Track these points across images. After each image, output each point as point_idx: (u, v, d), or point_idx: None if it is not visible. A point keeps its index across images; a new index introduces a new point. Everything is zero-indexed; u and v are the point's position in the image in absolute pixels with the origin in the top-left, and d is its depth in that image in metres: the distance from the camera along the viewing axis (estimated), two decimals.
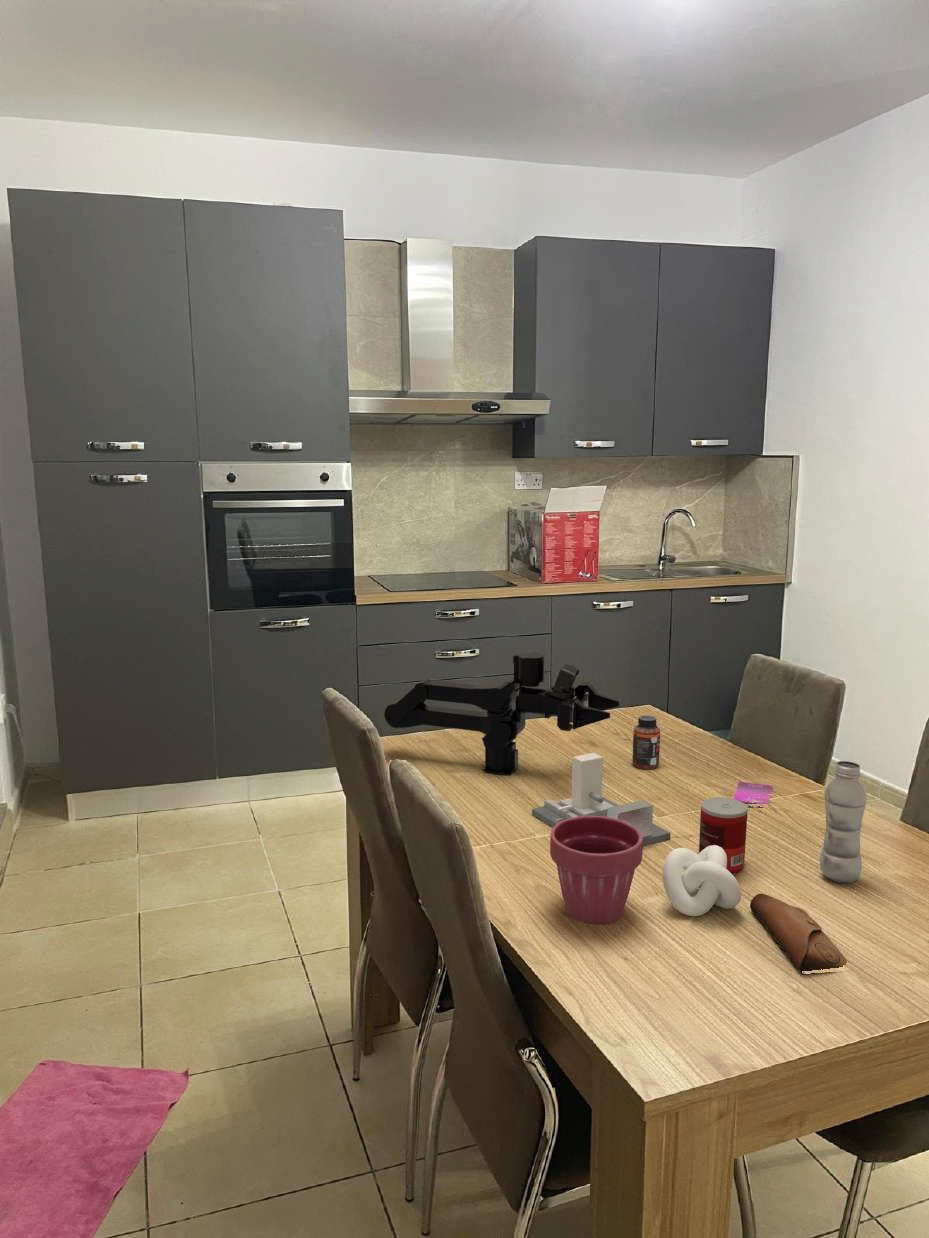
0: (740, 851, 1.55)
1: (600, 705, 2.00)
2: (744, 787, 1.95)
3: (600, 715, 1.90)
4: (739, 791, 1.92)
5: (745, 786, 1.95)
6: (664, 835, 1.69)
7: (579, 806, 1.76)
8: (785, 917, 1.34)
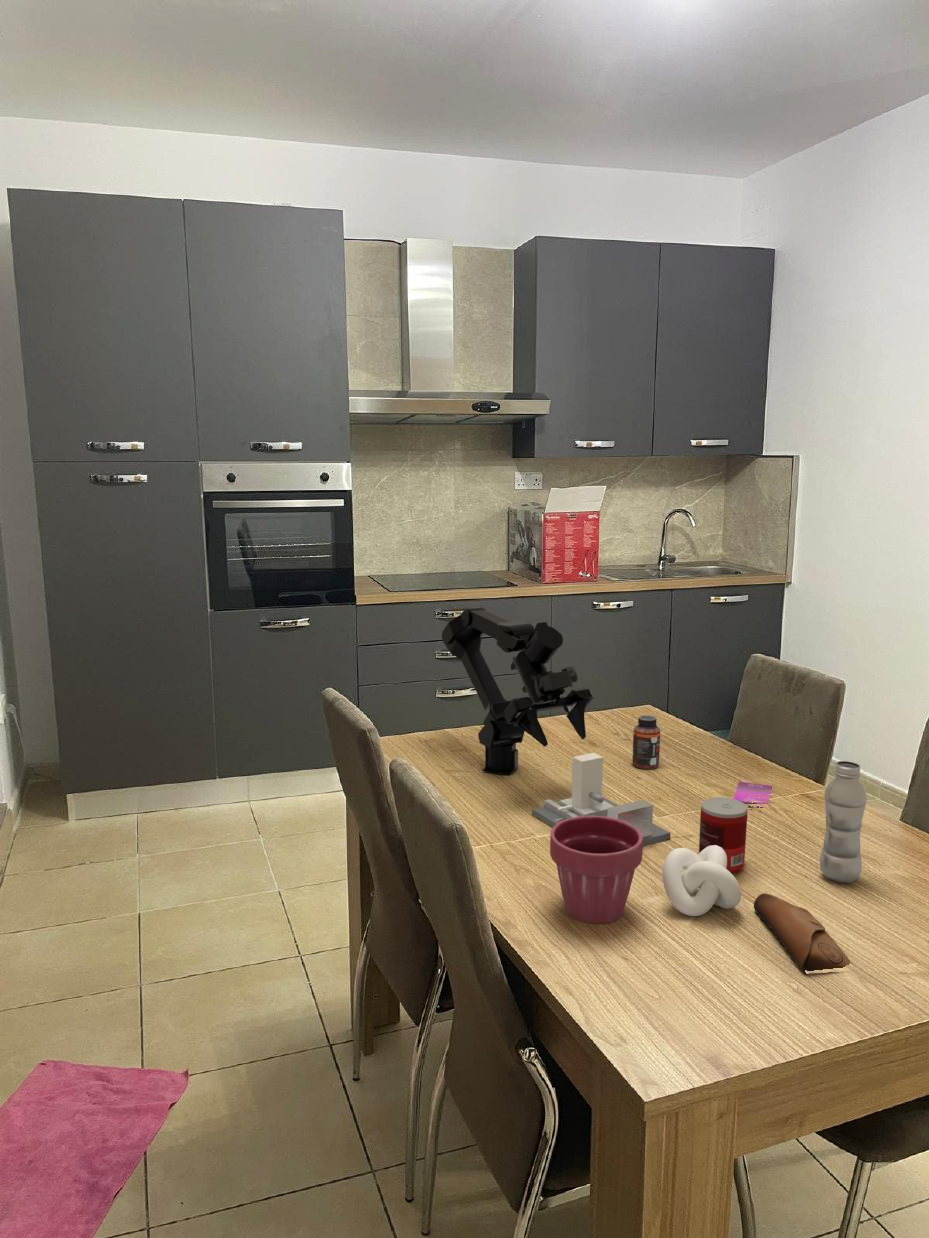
0: (740, 851, 1.55)
1: (574, 722, 1.87)
2: (744, 787, 1.95)
3: (539, 738, 1.81)
4: (739, 791, 1.92)
5: (745, 786, 1.95)
6: (664, 835, 1.69)
7: (579, 806, 1.76)
8: (788, 916, 1.34)
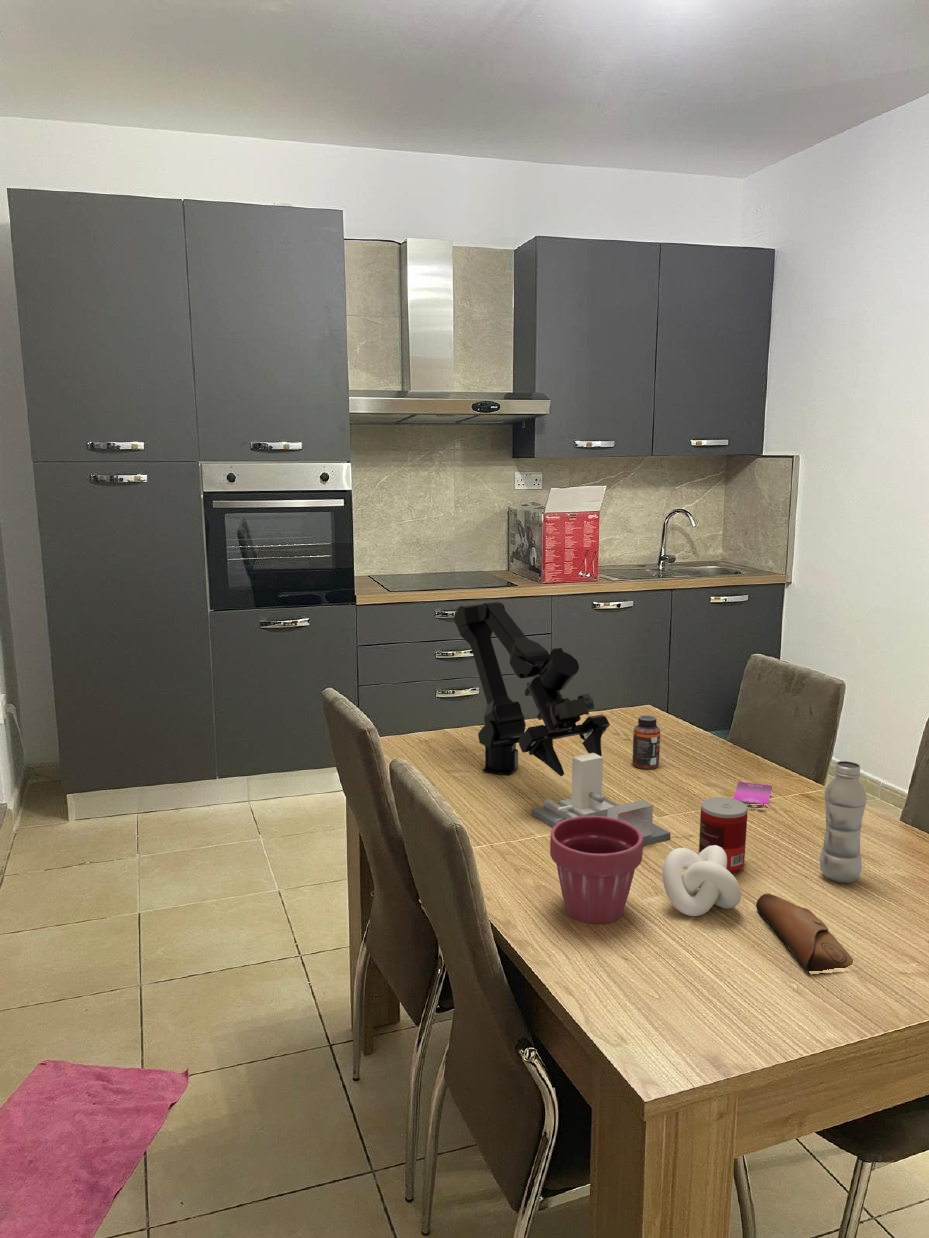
0: (740, 851, 1.55)
1: (591, 750, 1.83)
2: (743, 787, 1.95)
3: (555, 767, 1.77)
4: (739, 791, 1.92)
5: (744, 786, 1.95)
6: (664, 835, 1.69)
7: (579, 806, 1.76)
8: (791, 916, 1.34)
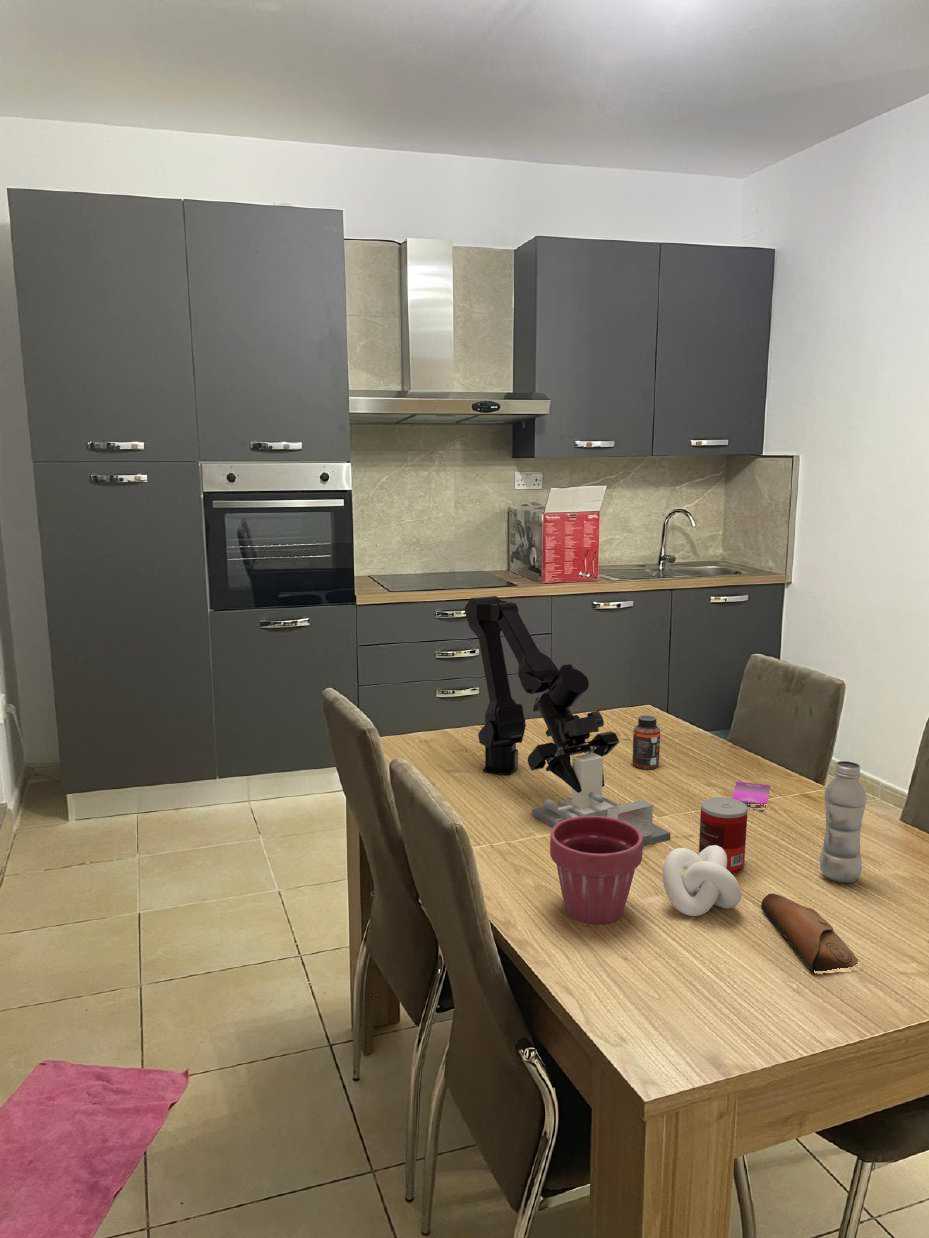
0: (740, 851, 1.55)
1: None
2: (741, 787, 1.95)
3: (573, 783, 1.75)
4: (737, 791, 1.92)
5: (742, 786, 1.95)
6: (664, 835, 1.69)
7: (579, 806, 1.76)
8: (796, 916, 1.34)
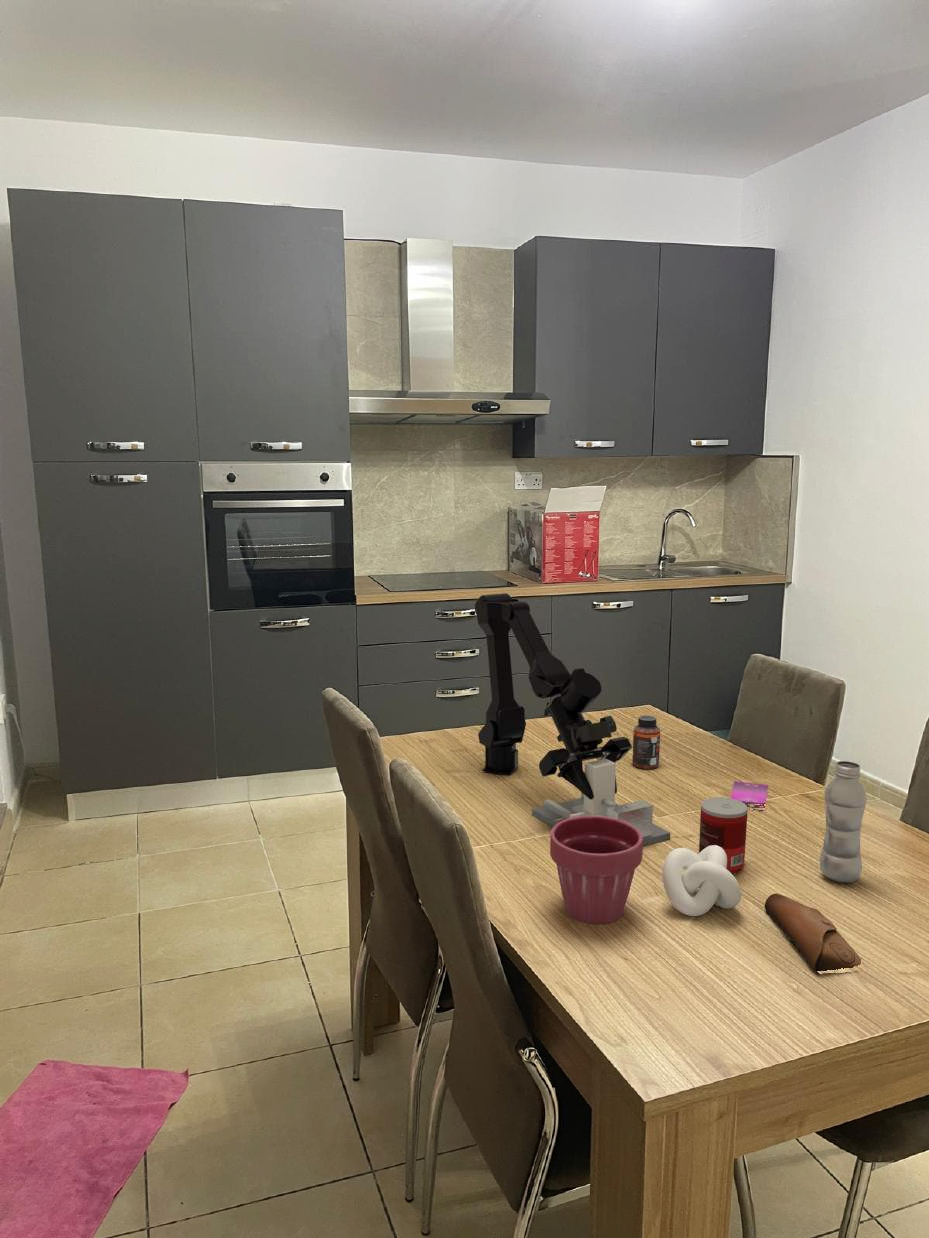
0: (740, 851, 1.55)
1: None
2: (740, 787, 1.95)
3: (585, 790, 1.72)
4: (735, 791, 1.92)
5: (740, 786, 1.95)
6: (664, 835, 1.69)
7: (591, 813, 1.72)
8: (800, 916, 1.34)
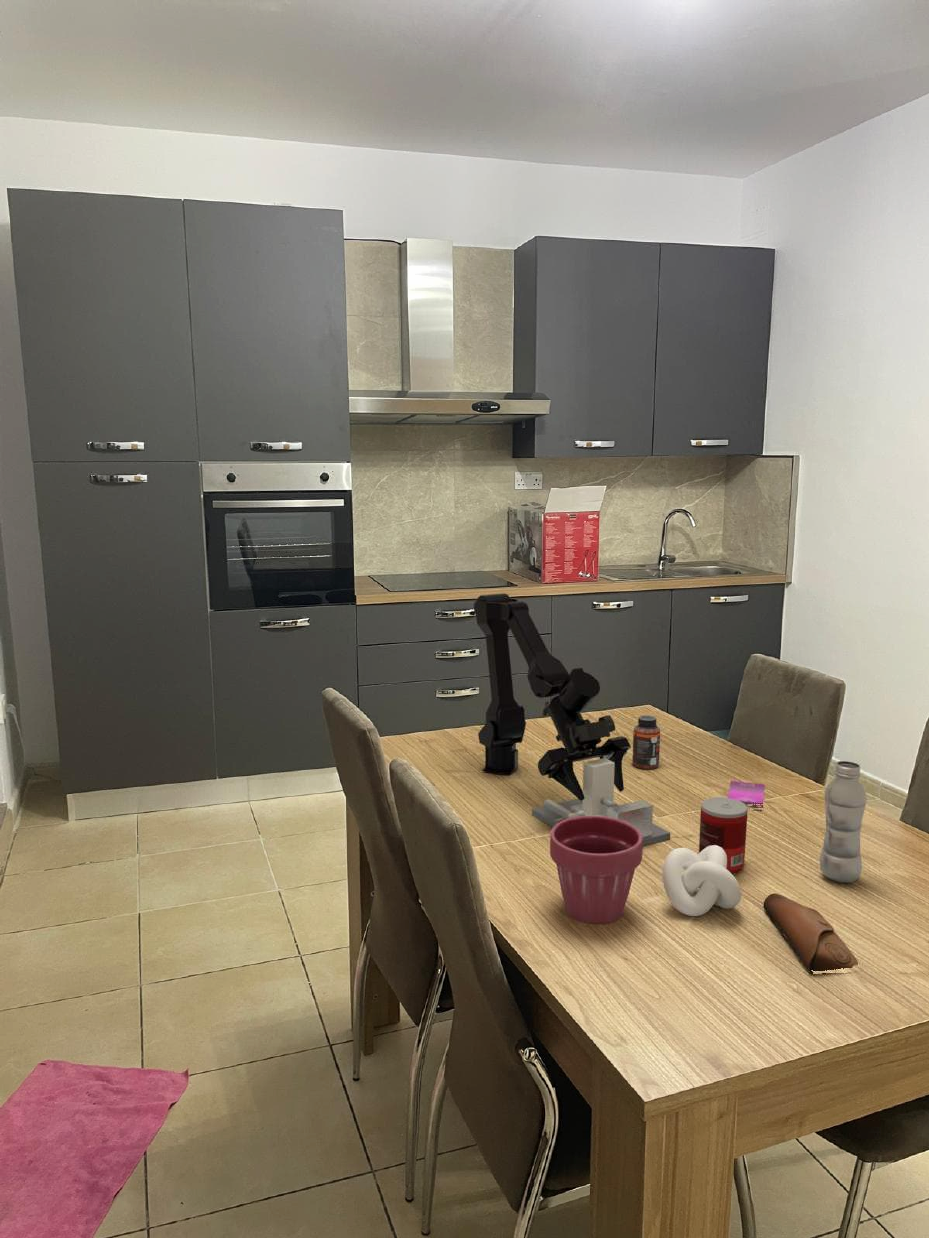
0: (740, 851, 1.55)
1: None
2: (736, 786, 1.95)
3: (575, 791, 1.71)
4: (732, 791, 1.93)
5: (737, 785, 1.96)
6: (664, 835, 1.69)
7: (590, 812, 1.73)
8: (797, 916, 1.34)
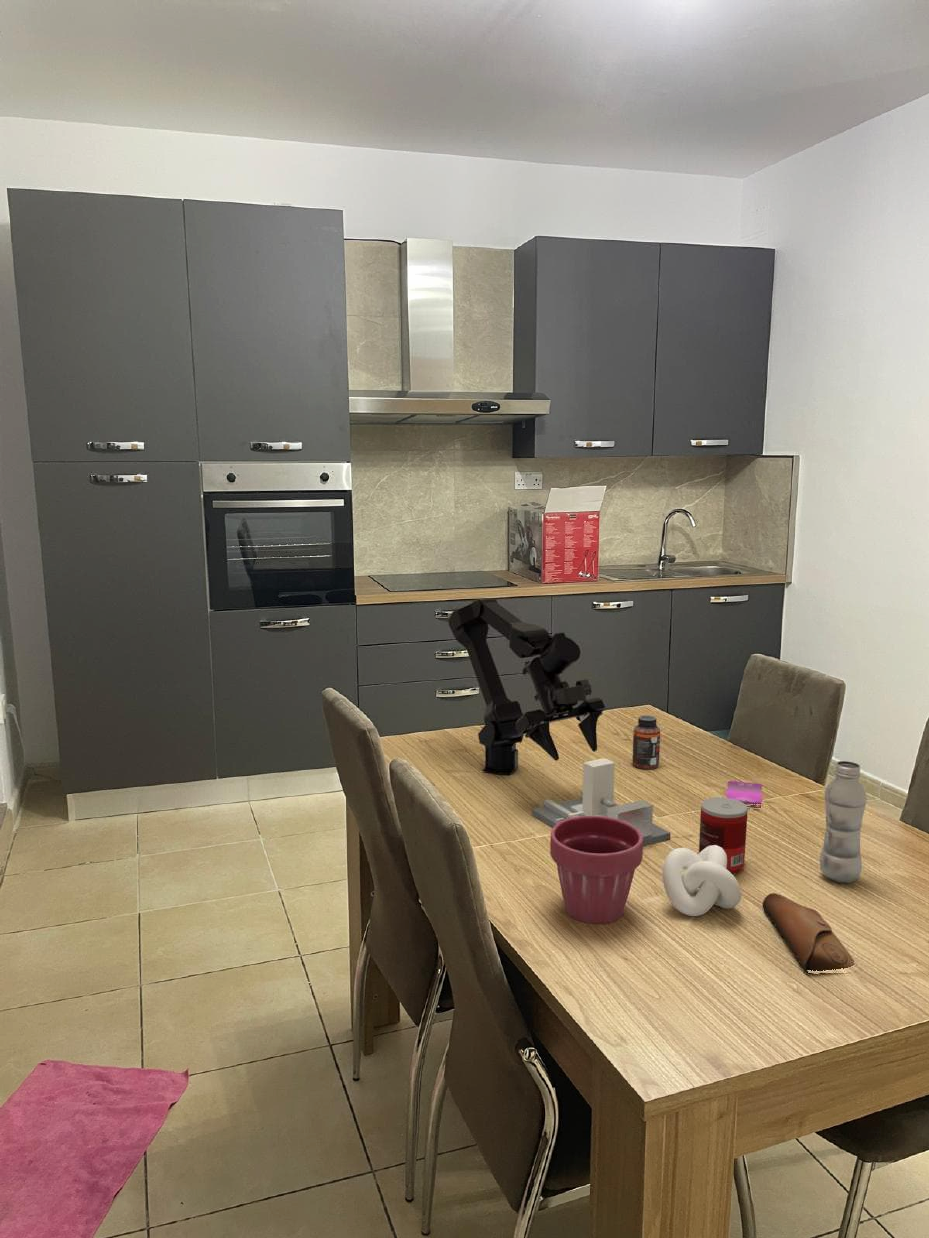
0: (740, 851, 1.55)
1: (586, 733, 1.86)
2: (734, 786, 1.95)
3: (550, 751, 1.79)
4: (730, 791, 1.93)
5: (735, 785, 1.96)
6: (664, 835, 1.69)
7: (590, 812, 1.73)
8: (795, 916, 1.34)
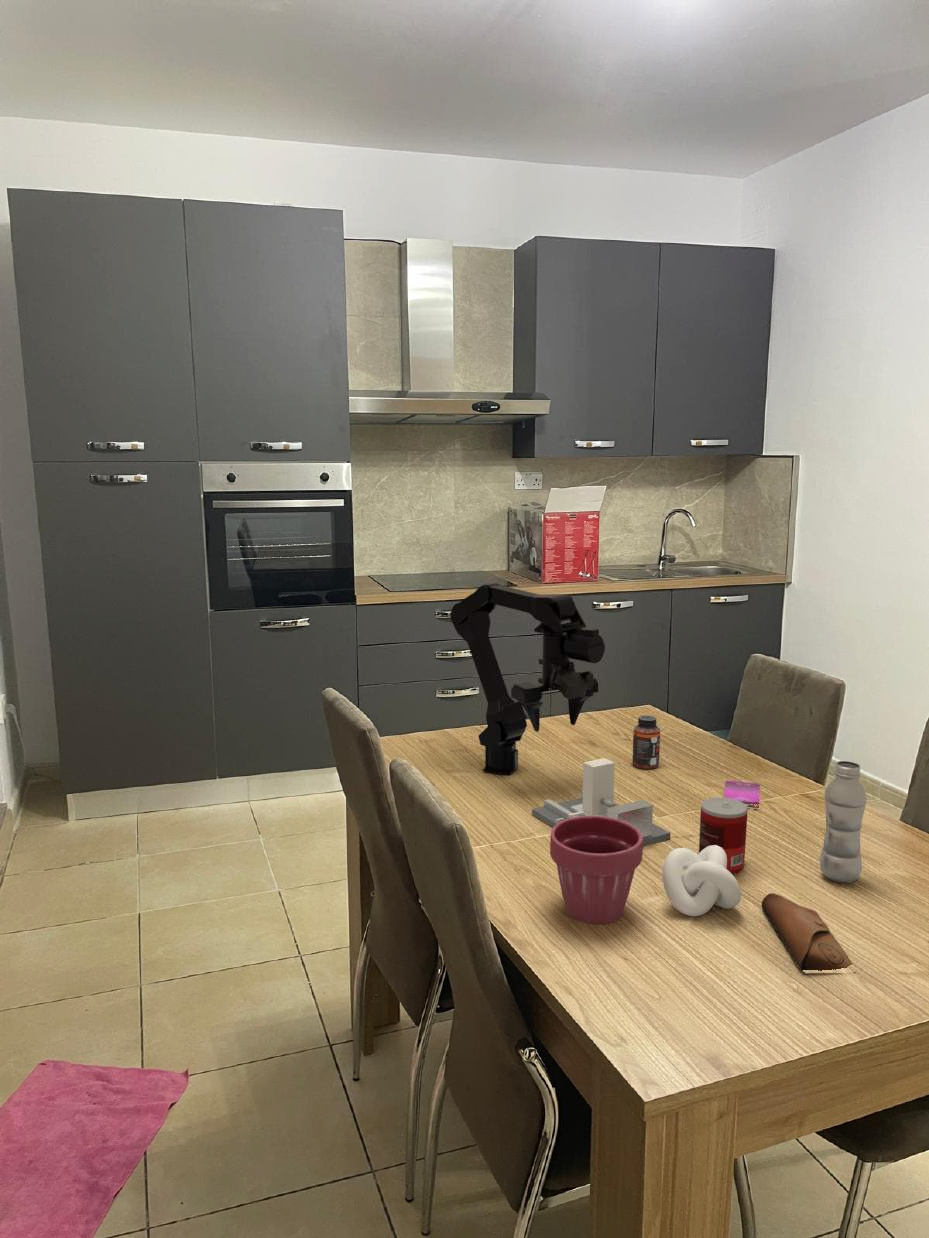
0: (740, 851, 1.55)
1: (571, 705, 1.95)
2: (732, 786, 1.95)
3: (533, 723, 1.90)
4: (728, 790, 1.93)
5: (732, 785, 1.96)
6: (664, 835, 1.69)
7: (590, 812, 1.73)
8: (792, 916, 1.35)
